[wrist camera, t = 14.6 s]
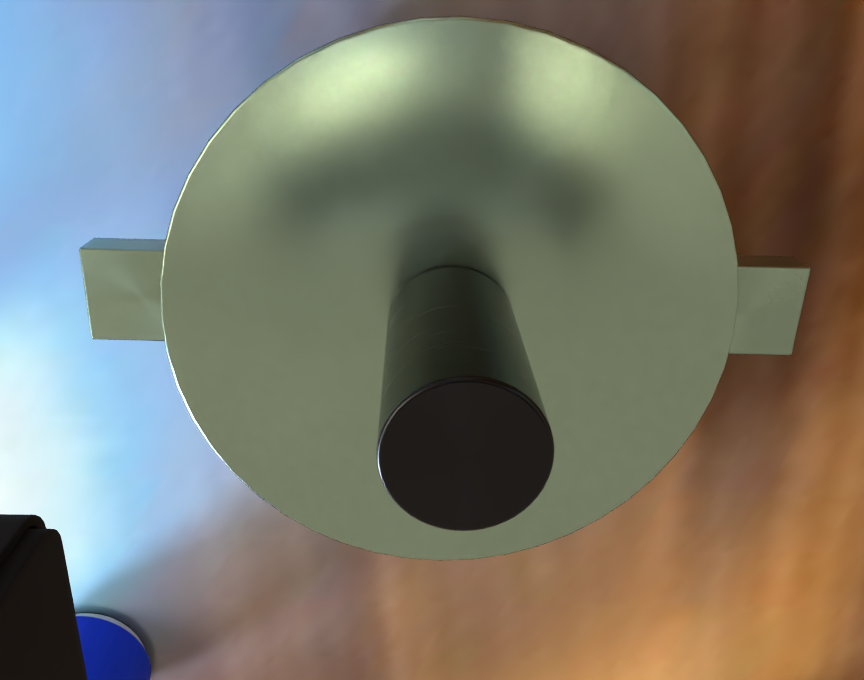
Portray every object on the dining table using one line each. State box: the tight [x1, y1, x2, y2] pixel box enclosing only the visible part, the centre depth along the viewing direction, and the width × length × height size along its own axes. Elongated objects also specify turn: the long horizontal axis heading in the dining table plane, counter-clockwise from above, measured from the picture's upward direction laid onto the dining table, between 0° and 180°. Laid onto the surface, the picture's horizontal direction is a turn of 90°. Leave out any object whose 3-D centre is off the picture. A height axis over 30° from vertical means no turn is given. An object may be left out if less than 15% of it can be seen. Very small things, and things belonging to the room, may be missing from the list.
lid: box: [160, 16, 738, 561], centre depth 17 cm, size 14×14×7 cm
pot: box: [79, 238, 810, 355], centre depth 23 cm, size 13×18×8 cm
